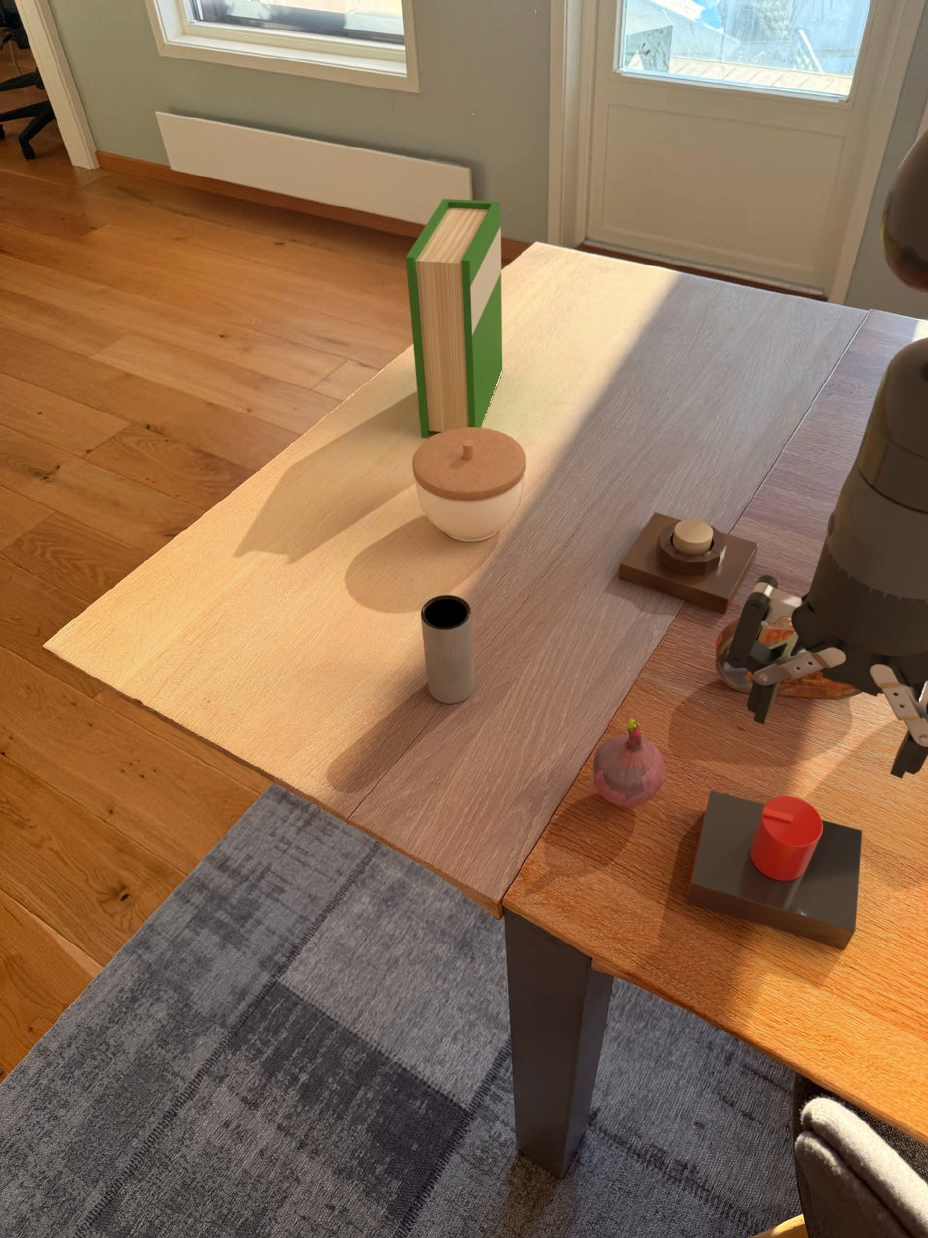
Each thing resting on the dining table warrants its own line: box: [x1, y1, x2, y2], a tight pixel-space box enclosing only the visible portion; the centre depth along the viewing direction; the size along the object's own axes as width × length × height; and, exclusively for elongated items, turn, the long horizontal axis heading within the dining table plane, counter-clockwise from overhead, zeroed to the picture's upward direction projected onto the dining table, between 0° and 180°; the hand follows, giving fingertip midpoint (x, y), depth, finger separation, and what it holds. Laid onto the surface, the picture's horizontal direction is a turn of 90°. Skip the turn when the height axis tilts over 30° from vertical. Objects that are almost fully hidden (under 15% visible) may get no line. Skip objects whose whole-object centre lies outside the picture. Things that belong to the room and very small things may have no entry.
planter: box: [420, 594, 475, 705], centre depth 85 cm, size 4×4×10 cm
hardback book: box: [405, 198, 503, 438], centre depth 117 cm, size 18×7×24 cm, turn 167°
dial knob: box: [750, 795, 823, 881], centre depth 69 cm, size 4×4×5 cm
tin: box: [715, 617, 863, 700], centre depth 84 cm, size 15×3×8 cm, turn 82°
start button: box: [673, 518, 713, 555], centre depth 96 cm, size 4×4×2 cm
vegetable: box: [592, 718, 666, 808], centre depth 75 cm, size 6×6×10 cm
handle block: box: [685, 789, 864, 951], centre depth 72 cm, size 12×9×3 cm
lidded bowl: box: [411, 427, 527, 543], centre depth 103 cm, size 13×13×11 cm
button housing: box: [617, 512, 759, 615], centre depth 98 cm, size 12×10×4 cm
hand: (828, 739), depth 58 cm, fingers open, 8 cm apart
